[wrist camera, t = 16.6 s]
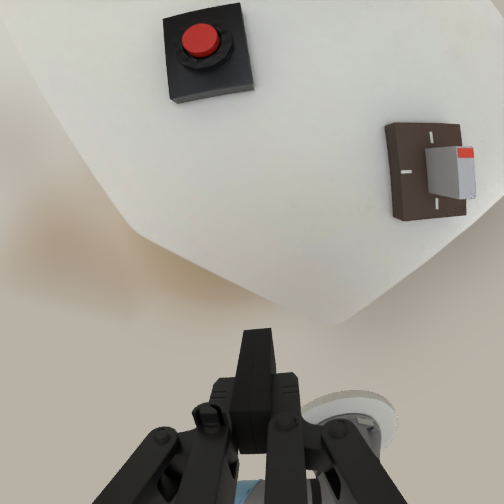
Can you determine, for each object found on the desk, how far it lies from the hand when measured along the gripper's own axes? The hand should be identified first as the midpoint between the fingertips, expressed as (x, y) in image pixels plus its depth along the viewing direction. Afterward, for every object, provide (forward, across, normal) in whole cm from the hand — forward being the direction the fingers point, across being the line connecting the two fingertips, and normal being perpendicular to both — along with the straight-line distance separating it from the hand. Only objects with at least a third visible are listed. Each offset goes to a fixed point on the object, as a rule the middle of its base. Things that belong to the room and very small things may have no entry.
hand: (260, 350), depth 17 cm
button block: (+24, -4, +26) cm, 36 cm away
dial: (+21, +22, +8) cm, 31 cm away
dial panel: (+24, +22, +8) cm, 34 cm away
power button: (+20, -4, +26) cm, 33 cm away
